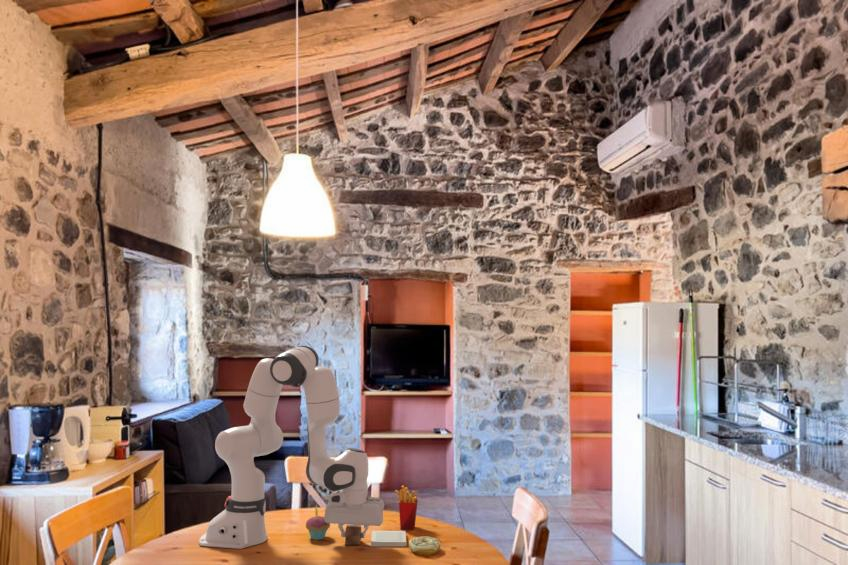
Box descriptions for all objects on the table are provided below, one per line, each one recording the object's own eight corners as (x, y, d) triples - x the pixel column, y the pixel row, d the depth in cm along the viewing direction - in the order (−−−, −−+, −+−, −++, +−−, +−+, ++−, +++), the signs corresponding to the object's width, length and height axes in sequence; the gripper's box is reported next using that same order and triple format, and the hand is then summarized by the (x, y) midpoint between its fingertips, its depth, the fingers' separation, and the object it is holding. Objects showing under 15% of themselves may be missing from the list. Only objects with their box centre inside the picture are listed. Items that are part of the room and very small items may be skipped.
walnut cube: (345, 544, 223) (345, 529, 223) (346, 539, 228) (347, 524, 228) (359, 544, 223) (360, 529, 223) (360, 539, 228) (361, 525, 228)
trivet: (370, 546, 222) (371, 541, 222) (371, 535, 234) (371, 530, 234) (406, 546, 223) (406, 541, 223) (405, 535, 235) (405, 530, 235)
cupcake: (324, 542, 225) (325, 506, 226) (301, 540, 227) (302, 504, 228) (332, 534, 233) (333, 500, 234) (310, 532, 235) (311, 498, 236)
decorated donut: (409, 557, 213) (409, 545, 214) (408, 545, 224) (408, 534, 224) (441, 556, 214) (441, 545, 214) (438, 545, 225) (438, 534, 225)
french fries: (417, 525, 246) (418, 485, 247) (415, 532, 238) (416, 490, 239) (394, 524, 247) (395, 484, 248) (391, 531, 239) (392, 489, 240)
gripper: (385, 495, 228) (384, 536, 227) (328, 492, 230) (326, 532, 229) (383, 500, 222) (381, 541, 221) (323, 497, 224) (322, 538, 223)
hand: (353, 537), depth 225 cm, fingers closed on walnut cube, 5 cm apart
